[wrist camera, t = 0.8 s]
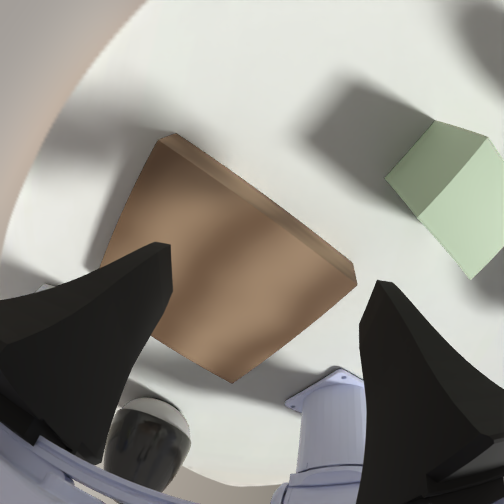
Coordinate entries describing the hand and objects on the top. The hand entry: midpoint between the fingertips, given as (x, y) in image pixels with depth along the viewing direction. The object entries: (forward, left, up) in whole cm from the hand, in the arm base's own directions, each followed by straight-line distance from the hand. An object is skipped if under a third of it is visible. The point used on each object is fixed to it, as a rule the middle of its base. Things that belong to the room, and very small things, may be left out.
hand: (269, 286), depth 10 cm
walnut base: (+1, +8, -9) cm, 12 cm away
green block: (-6, -7, -9) cm, 13 cm away
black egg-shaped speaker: (-5, +32, -9) cm, 33 cm away
